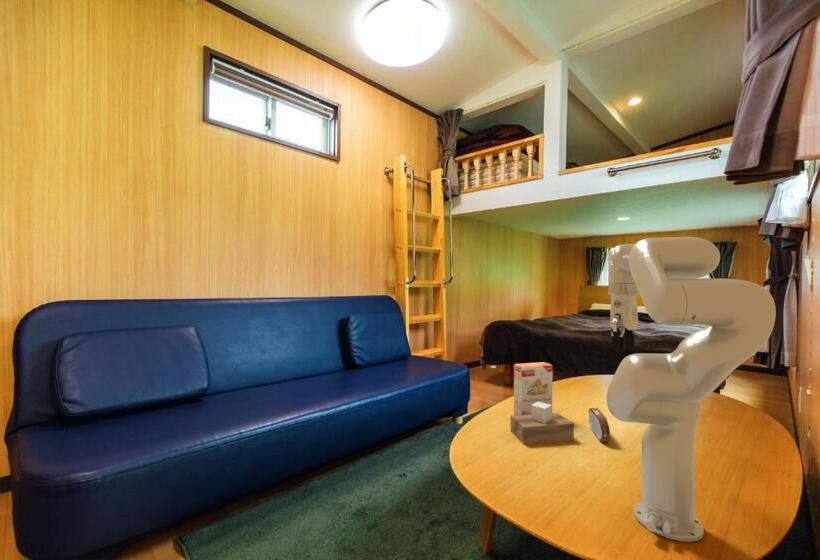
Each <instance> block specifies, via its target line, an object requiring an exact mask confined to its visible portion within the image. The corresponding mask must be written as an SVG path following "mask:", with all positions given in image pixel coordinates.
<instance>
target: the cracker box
mask: <svg viewBox="0 0 820 560" xmlns="http://www.w3.org/2000/svg"><path fill="white" fill-rule="evenodd" d="M513 365H514V367H513V368H514V370H513V371H514V372H513V373H514V376H513V377H514V381H513V382H514V383H513V386H514V387H513V415H530V414H531V405H532V404H534V403H536V402H542V403H546V404H550V405H552V406H553V378H554V377H553V376H554V375H553V368H554V367H553V365H552V364H551V363H547V362H545V361H542V362H541V361H540V362H539V361H538V362H526V363H515V364H513Z"/></svg>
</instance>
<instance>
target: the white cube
mask: <svg viewBox="0 0 820 560" xmlns="http://www.w3.org/2000/svg"><path fill="white" fill-rule="evenodd" d="M552 413H553V404H552V405H550V404H546V403H542V402H536V403H534V404H532V405H531V419H532V420H535V421H538V422H542V423H547V422H548V421H550V420H552Z"/></svg>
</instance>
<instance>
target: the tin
mask: <svg viewBox="0 0 820 560" xmlns="http://www.w3.org/2000/svg"><path fill="white" fill-rule="evenodd" d="M588 418H589V420H588V422H589V426H590V429H591V431H592V432H593V434H594V435H595V437H596V438H597V439H598V441H599V442H607V443H609V442H610V441H611V430H610V425H609V422H608V420H607V419H608V418H607V417H606V416H605V414H604V413H603V412H602V411H601V410H600V409H599V407H591V408H589V409H588Z"/></svg>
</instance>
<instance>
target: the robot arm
mask: <svg viewBox="0 0 820 560" xmlns="http://www.w3.org/2000/svg"><path fill="white" fill-rule="evenodd" d="M607 256H608V259H607V262H608V265H607V267H608V268H607V272H608V273H607V274H608V276H607V277H608V279H607V280H608V282H607V283H608V284H607V285H608V286H607V289H608V290H607V291H608V293H607V294H608V295H611V297H610V311H609V312H610V315H609V316H610V317H609V319H610V320H609V323H610V328H611V329H610V330H611V332H610V335H611V336H610V337H611V340H610V341H611V350H612V351H615V352H616V351H618V352H625V350H626V349H625V348H626V347H630V348H631V347H632V348H633V347H635V346H636V345H635V344H636V343H635V329H636V328H638V326H639V314H638V313H639V312H638V300H637V295H638V296H640V298H641V300H642V304H643V305H644V308H645V310H646V312H647V315H648V316H649V317H650V318H651V320H653V321H654V322H656V323H658V324H660V325H664V326H674V327H675V326H676V327H678V326H679V327H680V326H681V327H703V328H702V329H699V330H697V331H695V332H693V333H691V334H690V335H688V336H687V337H685V338H684V339H683V340H682V341H681V342H680V343H679V344H678V346H677V347H676V349H675V350H674V351H672V352H671V353H669V352H668V353H667V352H666V353H645V352H643V353H642V352H641V353H631V354H629V355H627V356H625V357H624V358H623V359H622V361H620V362H619V363H620V364H619V365H618V367H617V369H616V370H615V372H614V375H613V377H612V378H611V380H610V381H609V382H610V383H609V385H608V387H607V391H606V398H605V399H606V404H607V405H606V406H607V407H608V411H609V413H610V414H611V415H612V416H613V417H614V418H615V419H616V420H618V421H620V422H624V423H631V424H645V425H646V424H647V425H648V426H647V427H646V429H645V430H644V432H643V435H642V437H641V500H639V501H637V502H635V504H634V506H633V513H634V516H635V518H636V519H637V520H638V521H639V522H640V524H641V525H642V526H644V527H645V528H646V529H647V530H648V531H650V532H652V533H656V534H657V535H659V536H662V537H663V538H667V539H670V540H673V541H678V542H685V543H693V542H697V541H700V540H702V538H703V537H704V534H705V531H704V530H705V529H704V526H703V524H702V522H701V521H700V520H699V519H698V518H697V517H696V516H695V439H696V432H697V427H698V426H697V425H698V423H699V418H700V414H701V402H702V401H703V400H705V399H706V398H708V396H710V395H711V394H712V393H713V392H714V391H715V390H716V389H717V388H718V387H719V386H720V385H721V384H723V382H724V381H725V380H726V379H727V378H728V377H729V375H731V374H732V372H733V371H735V369H737V368H738V367H739V366H741V365H742V364H744V363H745V362H746V361H747V360H749V359H750V358H751V357H753V356H754V355H755V354H756V353H758V352H759V351H760V350H761V349H762V347H763V346H764V345H765V344H766V343H767V342H768V340H769V338H770V336H771V334H772V332H773V329H774V326H775V323H776V322H775V321H776V318H777V317H776V315H777V314H776V312H777V311H776V303H775V300H774V297H773V296H772V294H771V293H770V292H769V290H767V289H766V288H765V287H764V286H762V285H760V284H757V283H755V282H752V281H748V280H743V279H738V278H737V279H736V278H735V279H734V278H722V277H721V278H715V277H714V278H711V277H710V278H705V276H708V275H709V274H711V273H713V272H714V271H715V270H716V269H717V267H718V266H719V263H720V261H721V253H720V251H719V248H718V247H717V246H716V245H715V244H714V243H713V242H711V241H709V240H708V239H705V238H702V237H696V236H676V237H675V236H674V237H673V236H671V237H670V236H669V237H664V236H663V237H647V238H644V239H643V238H642V239H641V240H638V241H637V242H636V243H624V244H623V243H622V244H618V245H616V246H615V247H611V248H610V249H609V251H608V254H607Z"/></svg>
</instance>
